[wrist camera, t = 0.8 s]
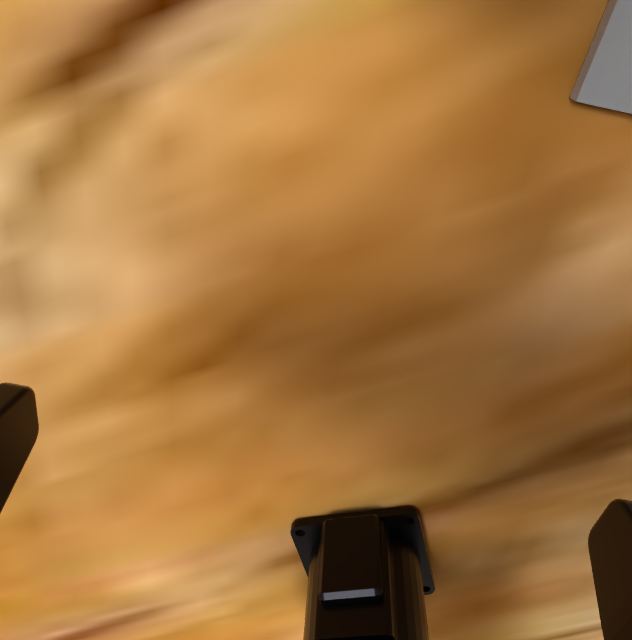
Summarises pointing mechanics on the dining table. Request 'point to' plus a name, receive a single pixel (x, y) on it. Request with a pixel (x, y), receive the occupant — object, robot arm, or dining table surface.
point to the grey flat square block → (609, 62)
